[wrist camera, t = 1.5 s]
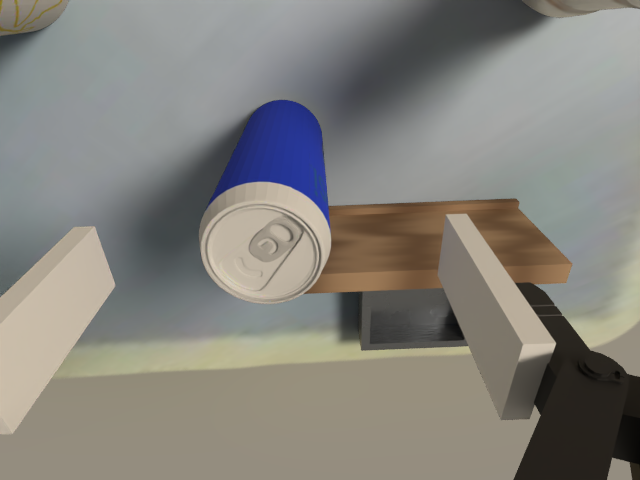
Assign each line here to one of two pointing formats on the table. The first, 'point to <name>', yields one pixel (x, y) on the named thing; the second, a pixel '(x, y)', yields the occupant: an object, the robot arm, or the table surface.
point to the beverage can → (270, 209)
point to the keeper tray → (407, 320)
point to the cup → (28, 15)
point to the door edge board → (429, 245)
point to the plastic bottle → (577, 6)
